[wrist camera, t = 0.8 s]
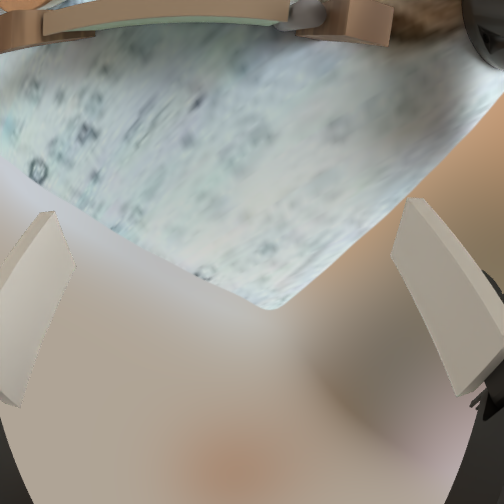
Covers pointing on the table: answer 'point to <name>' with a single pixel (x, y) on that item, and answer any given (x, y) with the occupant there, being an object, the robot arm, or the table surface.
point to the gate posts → (333, 29)
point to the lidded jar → (28, 4)
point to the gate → (184, 14)
